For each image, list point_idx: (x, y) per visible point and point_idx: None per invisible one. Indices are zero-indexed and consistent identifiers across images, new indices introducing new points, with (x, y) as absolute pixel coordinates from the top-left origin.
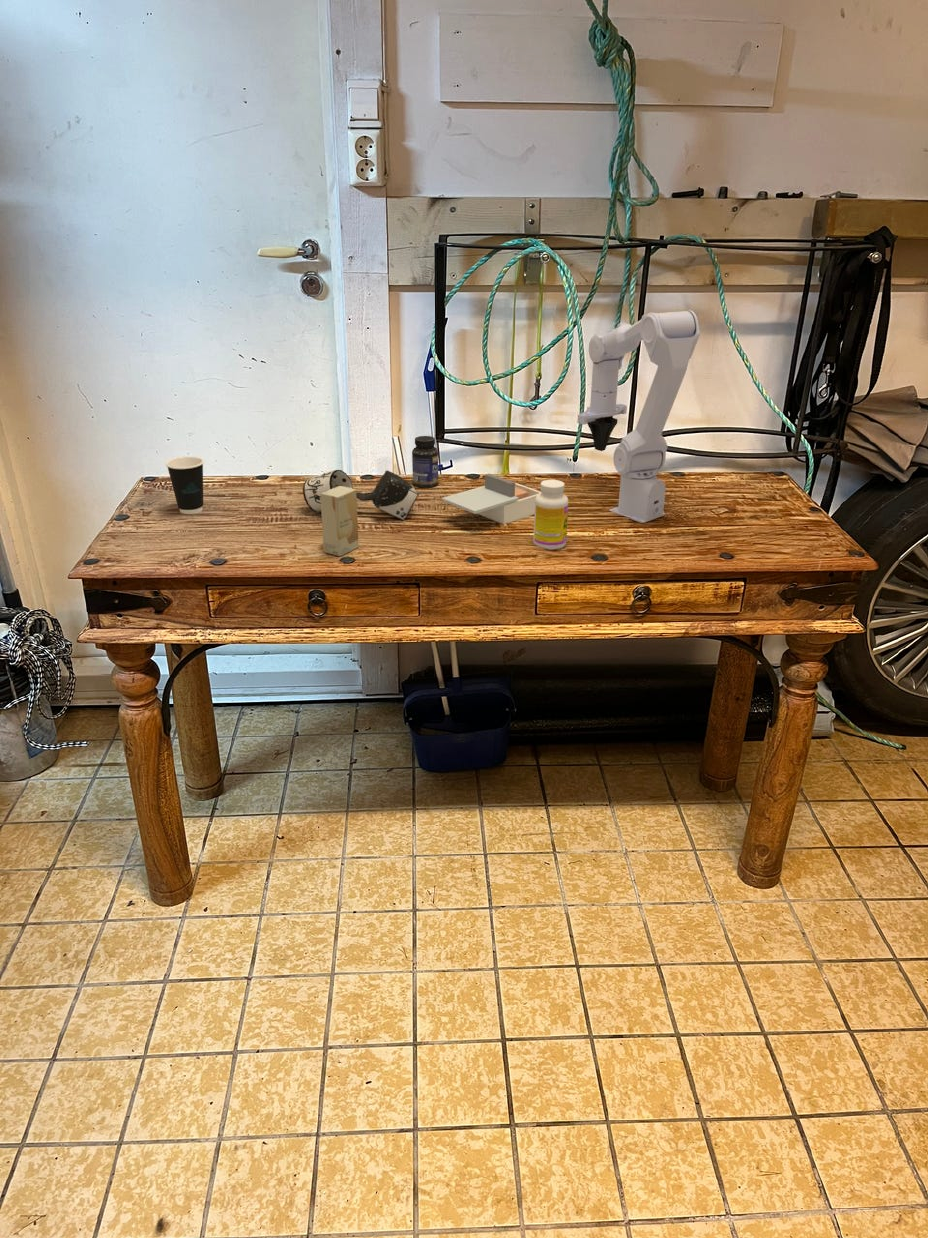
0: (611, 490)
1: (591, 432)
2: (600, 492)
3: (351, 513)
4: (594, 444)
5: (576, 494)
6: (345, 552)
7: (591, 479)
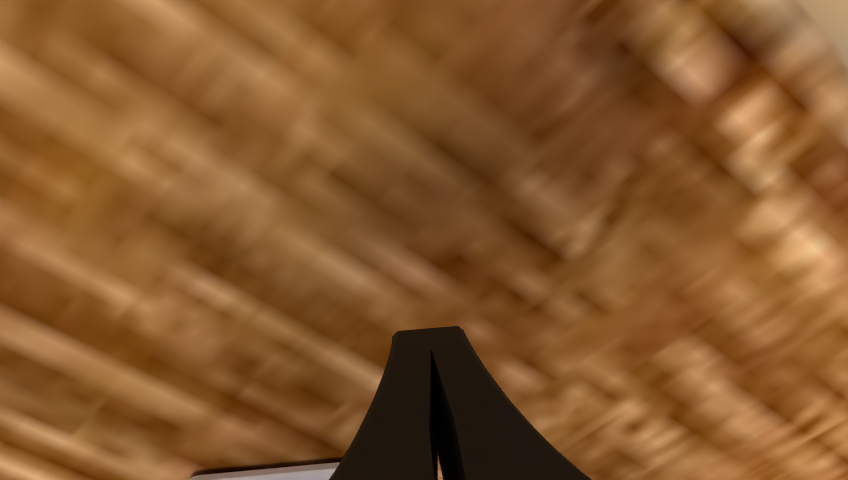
0: (461, 256)
1: (334, 472)
2: (375, 244)
3: None
4: (388, 364)
5: (207, 184)
6: None
7: (537, 2)
